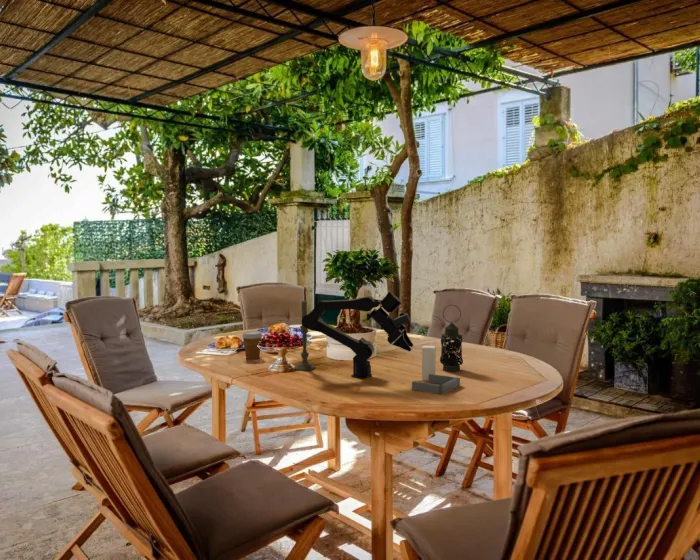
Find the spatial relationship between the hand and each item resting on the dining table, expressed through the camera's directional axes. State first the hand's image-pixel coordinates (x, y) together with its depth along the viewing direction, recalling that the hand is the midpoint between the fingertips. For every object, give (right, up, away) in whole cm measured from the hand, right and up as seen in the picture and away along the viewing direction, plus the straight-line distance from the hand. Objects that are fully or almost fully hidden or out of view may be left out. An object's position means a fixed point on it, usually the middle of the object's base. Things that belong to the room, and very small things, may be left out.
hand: (411, 348), depth 239 cm
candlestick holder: (-44, -11, +20) cm, 50 cm away
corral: (+7, -13, -14) cm, 20 cm away
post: (+7, -12, 0) cm, 14 cm away
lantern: (+18, -11, +15) cm, 26 cm away
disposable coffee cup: (-71, -10, +44) cm, 84 cm away
